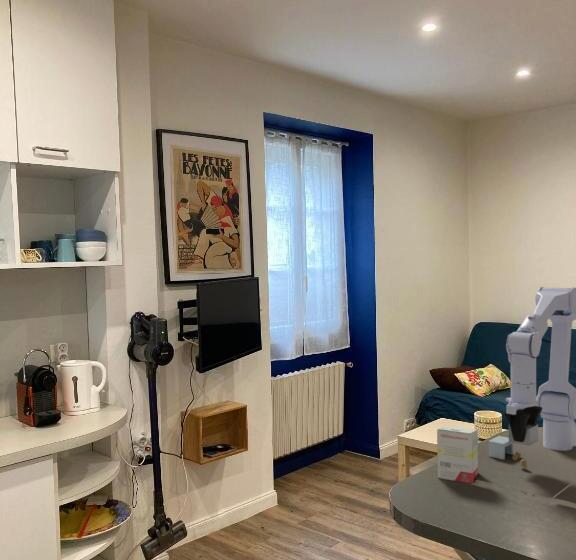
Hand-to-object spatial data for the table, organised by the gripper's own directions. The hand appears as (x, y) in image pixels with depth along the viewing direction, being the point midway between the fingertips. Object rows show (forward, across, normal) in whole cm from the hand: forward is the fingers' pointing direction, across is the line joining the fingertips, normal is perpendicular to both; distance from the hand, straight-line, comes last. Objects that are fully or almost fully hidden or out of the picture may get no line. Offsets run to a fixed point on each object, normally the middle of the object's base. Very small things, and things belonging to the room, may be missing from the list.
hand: (523, 438), depth 146 cm
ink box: (+9, +12, -10) cm, 19 cm away
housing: (+7, -6, -8) cm, 13 cm away
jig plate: (+9, -4, -4) cm, 11 cm away
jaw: (+1, 0, 0) cm, 1 cm away
